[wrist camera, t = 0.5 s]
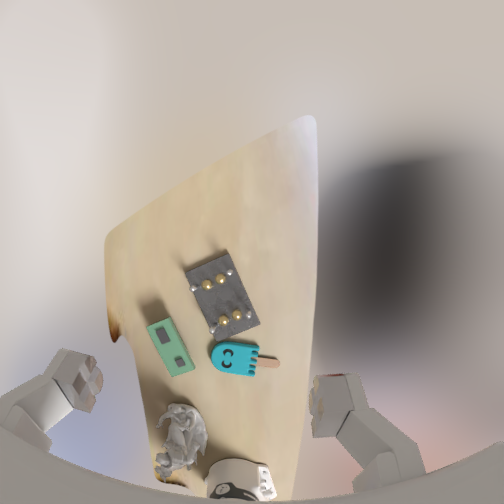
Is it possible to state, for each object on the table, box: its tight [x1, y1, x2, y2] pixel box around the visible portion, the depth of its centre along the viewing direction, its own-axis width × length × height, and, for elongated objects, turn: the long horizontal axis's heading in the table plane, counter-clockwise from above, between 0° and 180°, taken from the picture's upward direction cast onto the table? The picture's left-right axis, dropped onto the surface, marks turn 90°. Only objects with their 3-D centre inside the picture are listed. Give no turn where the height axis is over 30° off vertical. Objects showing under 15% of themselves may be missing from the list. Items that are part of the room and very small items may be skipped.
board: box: [146, 317, 195, 377], centre depth 55 cm, size 12×6×2 cm, turn 24°
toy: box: [211, 341, 280, 376], centre depth 59 cm, size 7×2×15 cm
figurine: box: [155, 403, 208, 483], centre depth 50 cm, size 18×13×18 cm
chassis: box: [185, 254, 260, 342], centre depth 56 cm, size 16×10×6 cm, turn 24°
